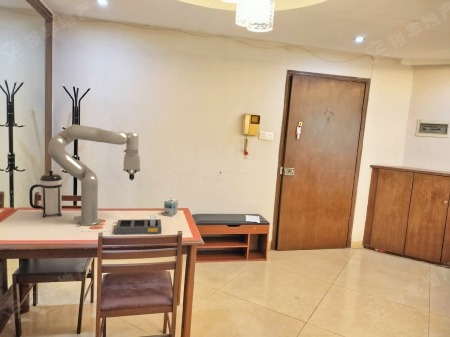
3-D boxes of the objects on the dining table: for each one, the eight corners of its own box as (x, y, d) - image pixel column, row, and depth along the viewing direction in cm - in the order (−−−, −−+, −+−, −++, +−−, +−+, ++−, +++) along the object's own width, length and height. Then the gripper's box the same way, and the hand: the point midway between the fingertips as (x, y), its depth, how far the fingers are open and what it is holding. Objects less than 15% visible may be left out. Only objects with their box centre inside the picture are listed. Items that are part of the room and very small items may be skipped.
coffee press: (51, 210, 229) (50, 167, 225) (69, 213, 224) (68, 170, 220) (29, 216, 213) (27, 170, 209) (47, 220, 208) (46, 173, 204)
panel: (150, 230, 196) (150, 219, 195) (149, 225, 206) (150, 214, 205) (155, 230, 197) (155, 219, 196) (154, 225, 207) (155, 214, 206)
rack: (115, 234, 189) (115, 228, 189) (118, 225, 205) (118, 219, 204) (161, 234, 195) (161, 227, 194) (160, 225, 211) (160, 219, 210)
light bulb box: (172, 216, 231) (173, 201, 229) (163, 215, 232) (164, 200, 231) (177, 213, 241) (178, 198, 240) (169, 212, 243) (169, 197, 241)
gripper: (119, 152, 207) (119, 180, 209) (143, 153, 210) (143, 181, 212) (120, 151, 214) (120, 178, 216) (144, 152, 217) (143, 179, 220)
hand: (131, 179), depth 214 cm, fingers closed
